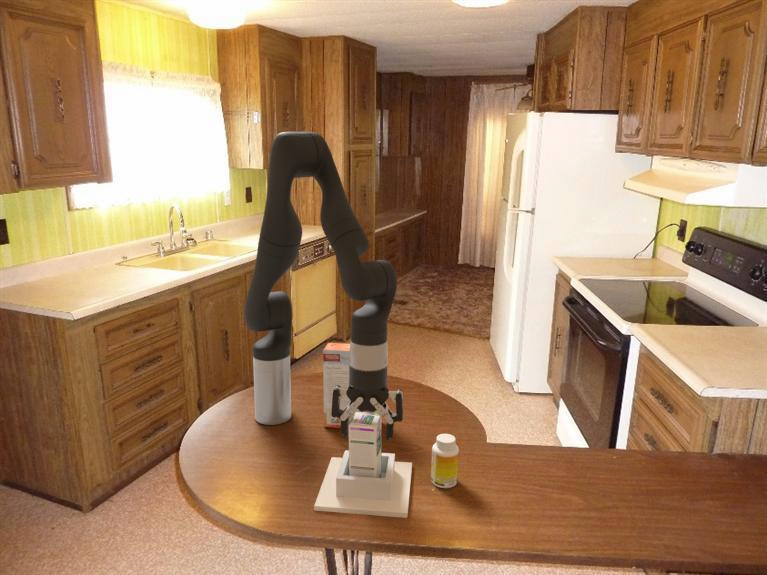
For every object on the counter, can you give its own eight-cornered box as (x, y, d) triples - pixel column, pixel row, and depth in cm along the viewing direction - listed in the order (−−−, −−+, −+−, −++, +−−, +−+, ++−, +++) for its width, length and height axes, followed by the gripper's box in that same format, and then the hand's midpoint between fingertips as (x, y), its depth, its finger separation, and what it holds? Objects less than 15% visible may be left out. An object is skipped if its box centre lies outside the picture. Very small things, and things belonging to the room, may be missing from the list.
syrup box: (376, 492, 113) (377, 426, 110) (347, 488, 114) (348, 423, 111) (381, 476, 119) (383, 413, 115) (354, 473, 120) (354, 410, 116)
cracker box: (381, 421, 145) (383, 344, 140) (378, 432, 140) (379, 352, 135) (328, 416, 147) (328, 340, 142) (323, 427, 141) (322, 349, 136)
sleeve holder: (331, 461, 126) (331, 440, 125) (412, 466, 124) (412, 446, 123) (314, 510, 109) (314, 487, 107) (407, 517, 107) (408, 494, 106)
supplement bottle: (462, 485, 118) (464, 441, 115) (439, 492, 115) (441, 447, 113) (448, 472, 123) (450, 429, 120) (425, 478, 120) (427, 434, 118)
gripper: (405, 357, 113) (403, 430, 117) (335, 353, 114) (335, 425, 118) (403, 371, 106) (400, 449, 110) (328, 366, 107) (328, 443, 111)
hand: (367, 436), depth 114 cm, fingers open, 8 cm apart
